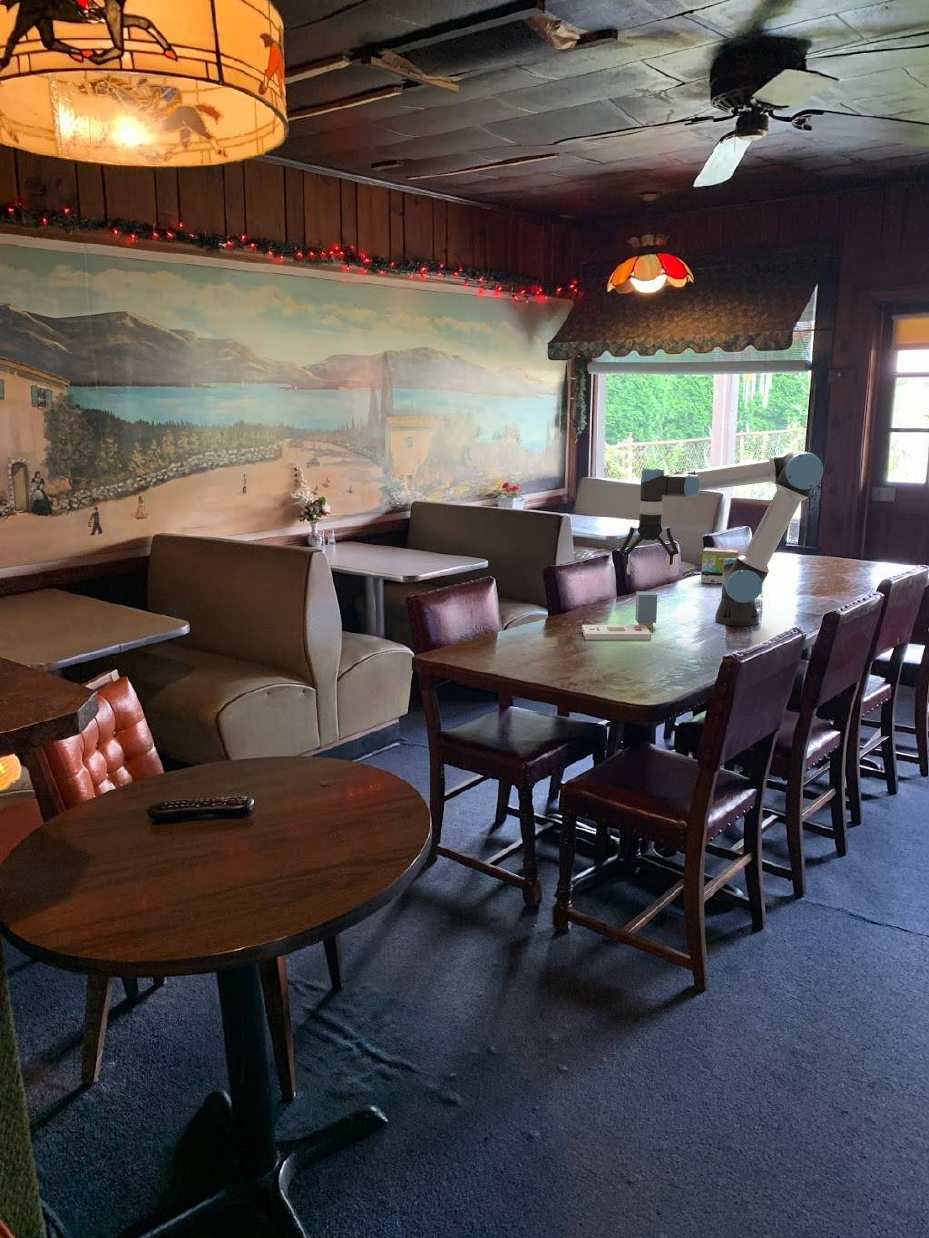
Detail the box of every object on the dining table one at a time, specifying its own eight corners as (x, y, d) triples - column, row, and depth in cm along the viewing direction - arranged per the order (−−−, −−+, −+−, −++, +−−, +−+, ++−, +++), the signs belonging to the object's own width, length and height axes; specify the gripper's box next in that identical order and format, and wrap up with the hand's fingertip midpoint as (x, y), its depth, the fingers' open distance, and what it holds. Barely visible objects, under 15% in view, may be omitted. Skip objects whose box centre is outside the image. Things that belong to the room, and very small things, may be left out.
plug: (653, 624, 334) (654, 591, 332) (656, 628, 328) (657, 595, 325) (635, 624, 335) (636, 591, 332) (637, 628, 328) (638, 595, 326)
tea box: (700, 583, 410) (702, 550, 407) (702, 579, 419) (704, 546, 416) (736, 585, 405) (738, 551, 402) (737, 581, 415) (739, 548, 411)
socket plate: (645, 630, 325) (645, 623, 324) (651, 639, 312) (651, 632, 312) (582, 630, 326) (582, 623, 325) (585, 639, 313) (585, 632, 313)
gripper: (684, 512, 325) (681, 572, 330) (613, 511, 326) (610, 571, 331) (689, 514, 318) (685, 576, 323) (615, 514, 319) (613, 575, 324)
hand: (647, 573), depth 327 cm, fingers open, 13 cm apart
